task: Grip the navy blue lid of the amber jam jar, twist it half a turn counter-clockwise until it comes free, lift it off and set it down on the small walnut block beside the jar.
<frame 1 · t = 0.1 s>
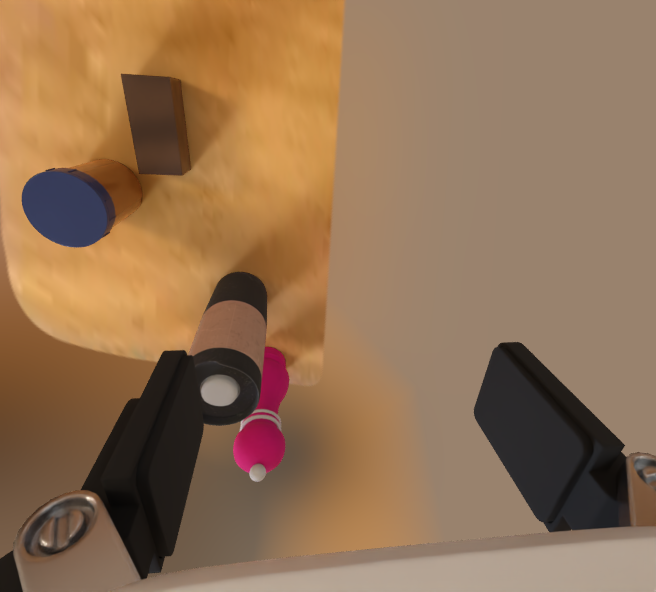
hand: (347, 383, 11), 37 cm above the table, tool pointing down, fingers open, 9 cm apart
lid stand: (165, 126, 39), on the table
travel mug: (241, 294, 50), on the table
jar lid: (67, 210, 33), point 10 cm above the table, screwed on, not yet turned
jam jar: (112, 189, 42), on the table
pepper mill: (265, 361, 56), on the table
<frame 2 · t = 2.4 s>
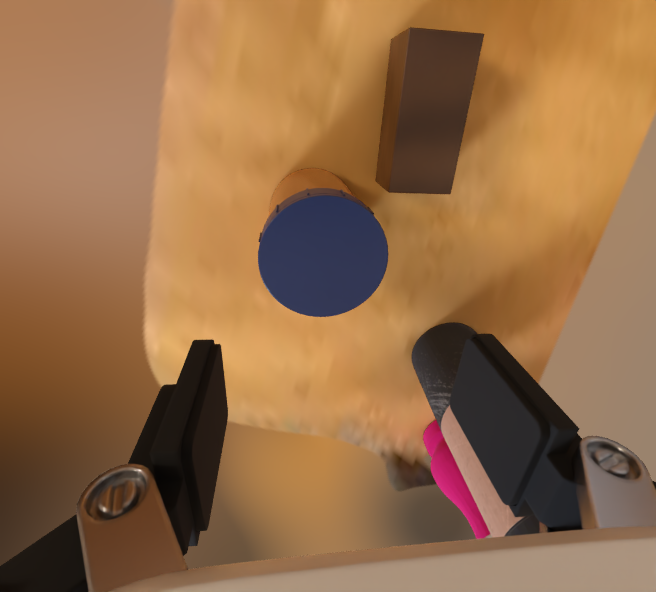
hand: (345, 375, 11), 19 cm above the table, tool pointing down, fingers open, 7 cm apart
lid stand: (412, 117, 26), on the table
travel mug: (444, 350, 36), on the table
jar lid: (323, 258, 20), point 10 cm above the table, screwed on, not yet turned
jam jar: (312, 211, 28), on the table
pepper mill: (447, 431, 42), on the table
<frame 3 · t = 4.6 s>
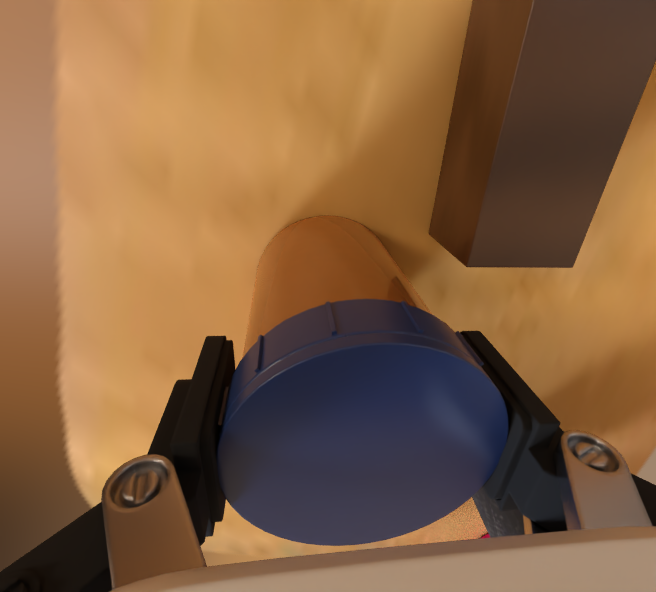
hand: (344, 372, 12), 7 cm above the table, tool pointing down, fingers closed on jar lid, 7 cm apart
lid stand: (497, 132, 15), on the table
travel mug: (507, 454, 26), on the table
jar lid: (363, 449, 9), point 10 cm above the table, screwed on, not yet turned, touching gripper
jam jar: (324, 281, 17), on the table
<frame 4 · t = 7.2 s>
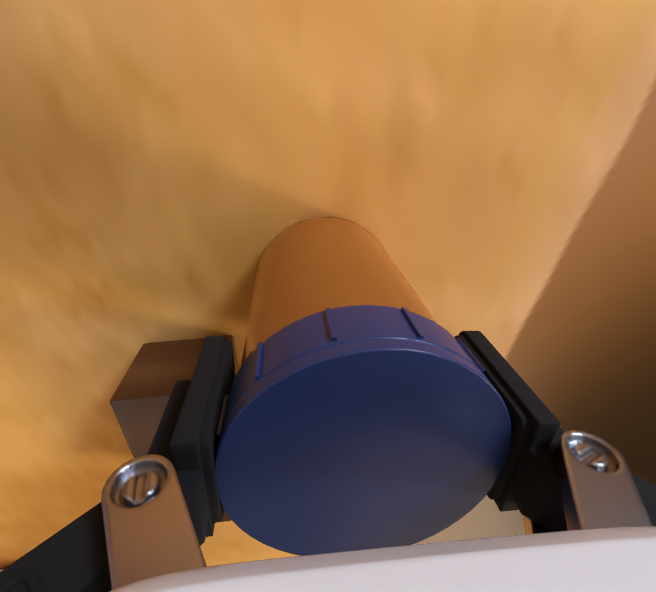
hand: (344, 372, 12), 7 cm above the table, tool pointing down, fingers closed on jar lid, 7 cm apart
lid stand: (205, 404, 20), on the table
jar lid: (364, 458, 9), point 10 cm above the table, off its thread, touching gripper
jam jar: (324, 283, 17), on the table
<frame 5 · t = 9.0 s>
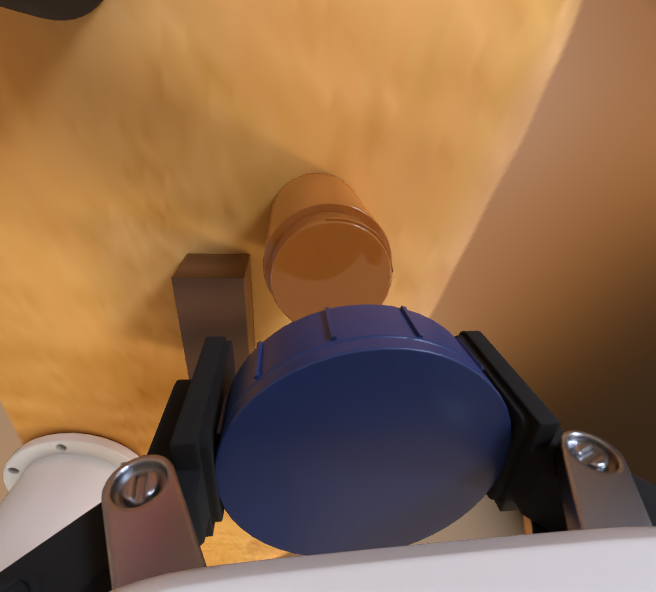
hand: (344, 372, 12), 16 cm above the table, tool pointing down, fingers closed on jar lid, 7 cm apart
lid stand: (224, 307, 28), on the table
jar lid: (364, 457, 9), point 19 cm above the table, off its thread, touching gripper
jam jar: (317, 221, 25), on the table
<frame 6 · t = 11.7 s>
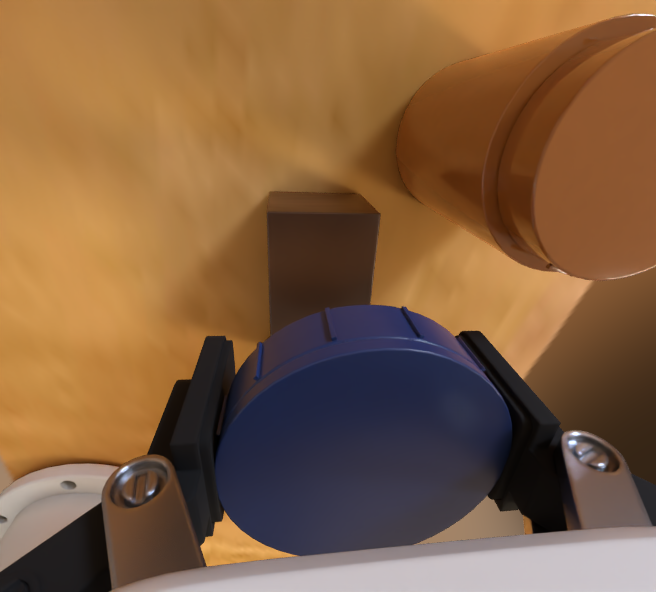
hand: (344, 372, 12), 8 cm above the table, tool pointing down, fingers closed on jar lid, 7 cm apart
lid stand: (312, 277, 19), on the table
jar lid: (364, 458, 9), point 12 cm above the table, off its thread, touching gripper
jam jar: (463, 142, 17), on the table
when the fingers open (2 cm above the table, at t = 13.8 s): jar lid stays where it is, resting on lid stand.
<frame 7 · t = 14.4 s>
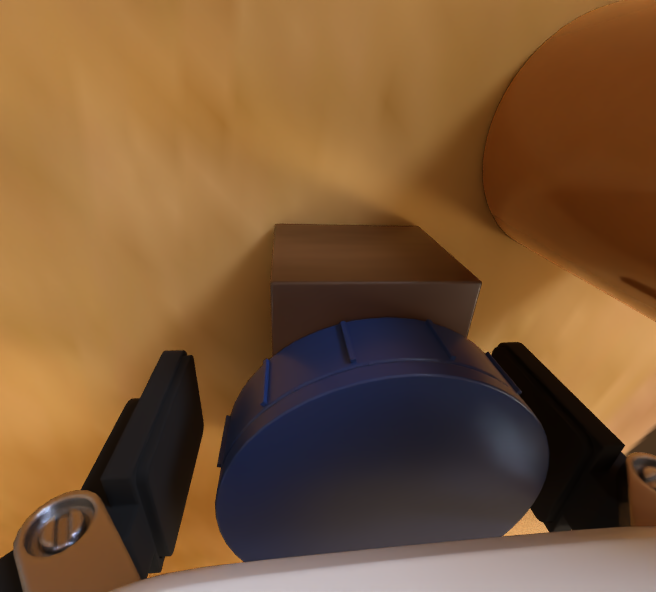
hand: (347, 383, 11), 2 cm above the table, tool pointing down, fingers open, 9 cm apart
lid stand: (339, 347, 13), on the table
jar lid: (382, 487, 8), point 5 cm above the table, off its thread, touching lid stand
jam jar: (591, 144, 10), on the table
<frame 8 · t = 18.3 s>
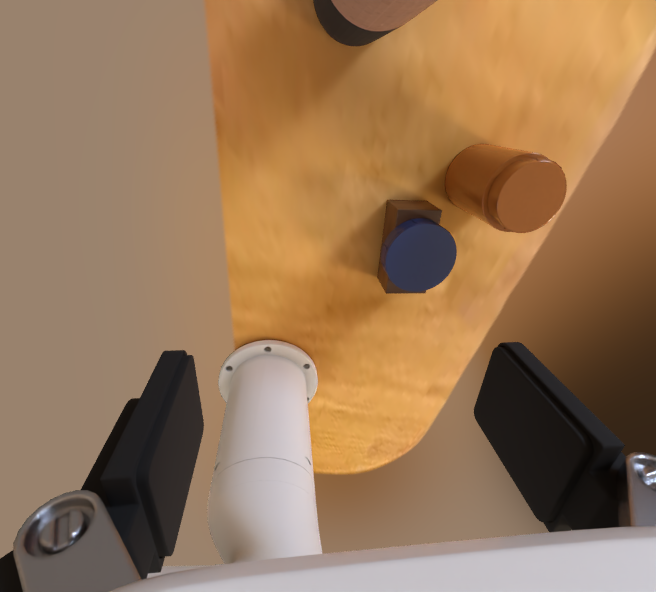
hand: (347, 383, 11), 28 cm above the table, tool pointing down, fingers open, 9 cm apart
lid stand: (401, 241, 40), on the table
jar lid: (419, 257, 35), point 5 cm above the table, off its thread, touching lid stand
jam jar: (475, 177, 37), on the table
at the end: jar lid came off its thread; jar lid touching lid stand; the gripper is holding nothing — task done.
